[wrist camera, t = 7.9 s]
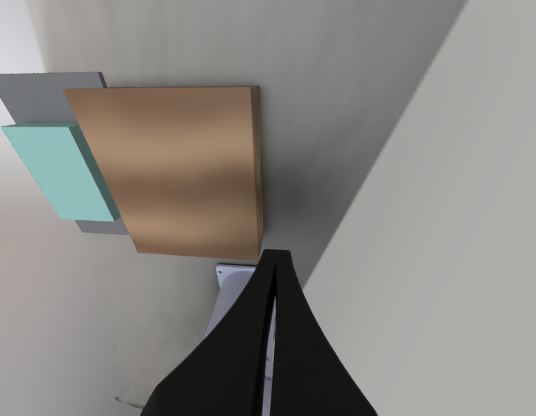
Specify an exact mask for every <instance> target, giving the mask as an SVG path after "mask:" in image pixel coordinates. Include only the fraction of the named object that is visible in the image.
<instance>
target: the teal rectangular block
mask: <svg viewBox="0 0 536 416" xmlns="http://www.w3.org/2000/svg"><path fill="white" fill-rule="evenodd" d="M1 129H2V130H3V132H4V133H5V135H6V136H7V138H8V139H9V141H10V142H11V144H12V145H13V147H14V149H15V150H16V151H17V153H18V155H19V156H20V158H21V159H22V161H23V162H24V164H25V165H26V167H27V168H28V170H29V171H30V173H31V175H32V176H33V178H34V179H35V181H36V182H37V184H38V185H39V187H40V188H41V190H42V191H43V193H44V195H45V196H46V198H47V199H48V201H49V202H50V204H51V205H52V207H53V208H54V210H55V211H56V213H57V214H58V216H59V217H60V219H71V220H92V221H112V222H115V221H116V220H117V219H118V218H120V217H121V215H120V212H119V210H118V208H117V206H116V204H115V202H114V199H113V197H112V195H111V193H110V191H109V189H108V186H107V184H106V182H105V180H104V178H103V176H102V173H101V171H100V169H99V167H98V165H97V163H96V160H95V158H94V156H93V154H92V152H91V150H90V147H89V145H88V143H87V141H86V139H85V137H84V134H83V132H82V130H81V128H80V126H79V124H78V123H21V124H15V125H9V126H2V127H1Z"/></svg>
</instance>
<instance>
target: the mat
mask: <svg viewBox="0 0 536 416" xmlns="http://www.w3.org/2000/svg"><path fill="white" fill-rule="evenodd" d="M77 88H106V85H105V82H104V79H103V77H102V74H101V72H89V73H37V74H36V73H33V74H32V73H31V74H30V73H29V74H0V98H1V100H2V101H3V103H4V105H5V106H6V108H7V110H8V111H9V113H10V114H11V116H12V118H13V119H14V121H15V123H16V124H21V123H78V121H77V119H76V117H75V115H74V113H73V111H72V108H71V106H70V104H69V102H68V100H67V98H66V95H65V93H64V91H63V89H77ZM75 221H76V223H77V224H78V226H79V228H80V229H81V231H82V232H86V233H104V234H122V235H130V234H129V232H128V230H127V228H126V225H125V223H124V221H123V219H122V217H120V218H118V219H117V220H116V221H115V222H112V221H92V220H75Z"/></svg>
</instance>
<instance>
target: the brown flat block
mask: <svg viewBox="0 0 536 416" xmlns="http://www.w3.org/2000/svg"><path fill="white" fill-rule="evenodd" d="M63 91H64V93H65V95H66V98H67V100H68V102H69V104H70V106H71V108H72V111H73V113H74V115H75V117H76V119H77V121H78V124H79V126H80V128H81V130H82V132H83V134H84V137H85V139H86V141H87V143H88V145H89V147H90V150H91V152H92V154H93V156H94V158H95V160H96V163H97V165H98V167H99V169H100V171H101V173H102V176H103V178H104V180H105V182H106V184H107V186H108V189H109V191H110V193H111V195H112V197H113V199H114V202H115V204H116V206H117V208H118V210H119V212H120V215H121V217H122V219H123V221H124V223H125V225H126V228H127V230H128V232H129V234H130V236H131V239H132V241H133V243H134V245H135V247H136V249H137V252H138V253H150V254H165V255H181V256H197V257H212V258H228V259H244V260H259V255H260V250H261V244H262V239H263V200H262V164H261V127H260V91H259V86H207V87H109V88H77V89H63Z"/></svg>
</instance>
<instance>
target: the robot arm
mask: <svg viewBox="0 0 536 416" xmlns="http://www.w3.org/2000/svg"><path fill="white" fill-rule="evenodd" d="M216 271H217V276H218V281H219V286H220V292H219V295H218V298H217V301H216V304H215V307H214V310H213V313H212V315H211V318H210V321H209V324H208V327H207V330H206V333H205V336H204V339H203V341H202V342H201V343H200V344H199V345H198V346H197V347H196V348H195V349H194V350H193V351H192V352H191V353H190V354H189V356H187V357H186V358H185V359H184V360H182V361H181V362H180V363H179V364H178V365H177V367H176V368H175V369H174V370H173V371H172V372H171V373H170V374H169V375H168V376H167V377H165V378H164V379H163V380H162V381H161V382H160V383H159V384H158V385H157V386H156V388H155V389H154V391H153V393H152V394H151V396H150V398H149V400H148V401H147V403H146V405H145V407H144V409H143V411H142V413H141V415H140V416H378V415H377V413H376V411H375V410H374V408H373V407H372V406H371V404H370V403H369V401H368V400H367V399H366V397H365V396H364V395H363V393H362V392H361V390H360V389H359V388H358V386H357V385H356V383H355V382H354V381H353V379H352V378H351V376H350V375H349V373H348V372H347V370H346V369H345V367H344V366H343V364H342V363H341V361H340V360H339V358H338V356H337V355H336V353H335V352H334V350H333V348H332V347H331V345H330V344H329V342H328V341H327V339H326V337H325V335H324V334H323V332H322V330H321V328H320V326H319V325H318V323H317V321H316V319H315V317H314V315H313V313H312V311H311V309H310V307H309V305H308V303H307V301H306V298H305V296H304V294H303V291H302V289H301V286H300V284H299V281H298V278H297V275H296V273H295V269H294V266H293V262H292V257H291V252H290V251H289V250H273V249H265V250H264V251H263V253H262V256H261V258H260V261H259V263H258V265H257V267H253V266H238V265H223V264H218V265H217V267H216ZM275 316H276V334H275V349H274V362H272V350H273V337H274V322H275Z"/></svg>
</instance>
